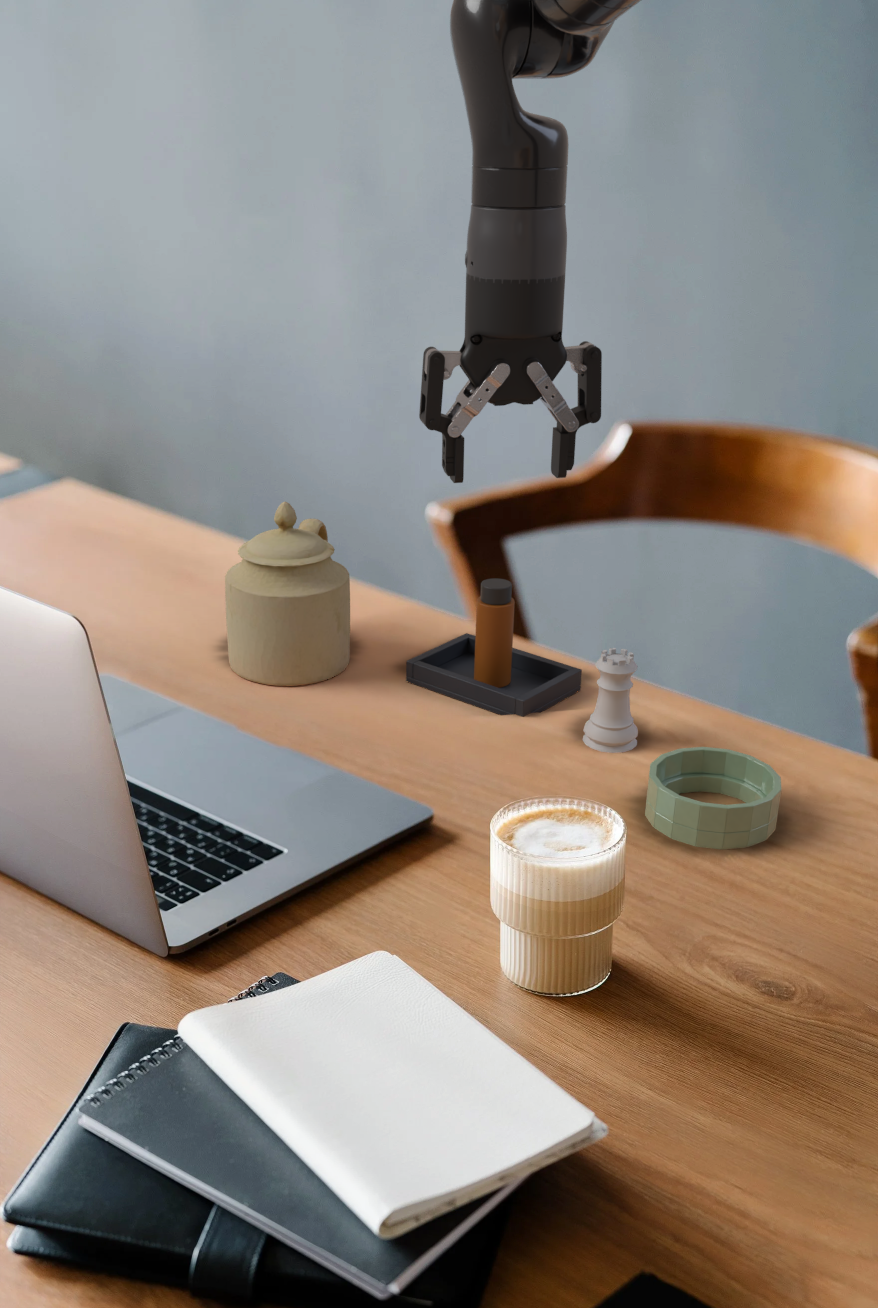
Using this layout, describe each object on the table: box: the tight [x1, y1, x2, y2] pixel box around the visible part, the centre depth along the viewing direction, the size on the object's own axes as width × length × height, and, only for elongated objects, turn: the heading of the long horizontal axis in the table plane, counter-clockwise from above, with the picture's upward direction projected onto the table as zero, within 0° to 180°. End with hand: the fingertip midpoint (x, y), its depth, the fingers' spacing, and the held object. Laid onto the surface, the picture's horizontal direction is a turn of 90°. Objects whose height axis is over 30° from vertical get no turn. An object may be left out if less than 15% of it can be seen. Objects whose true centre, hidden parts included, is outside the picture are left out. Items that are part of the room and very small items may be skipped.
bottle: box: [474, 577, 516, 688], centre depth 119 cm, size 3×3×9 cm
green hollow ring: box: [644, 746, 783, 851], centre depth 98 cm, size 9×9×4 cm
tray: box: [405, 632, 583, 718], centre depth 121 cm, size 13×9×2 cm
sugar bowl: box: [224, 501, 351, 687], centre depth 124 cm, size 15×11×15 cm
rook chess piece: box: [582, 647, 639, 754], centre depth 109 cm, size 4×4×8 cm
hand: (507, 478), depth 113 cm, fingers open, 8 cm apart
